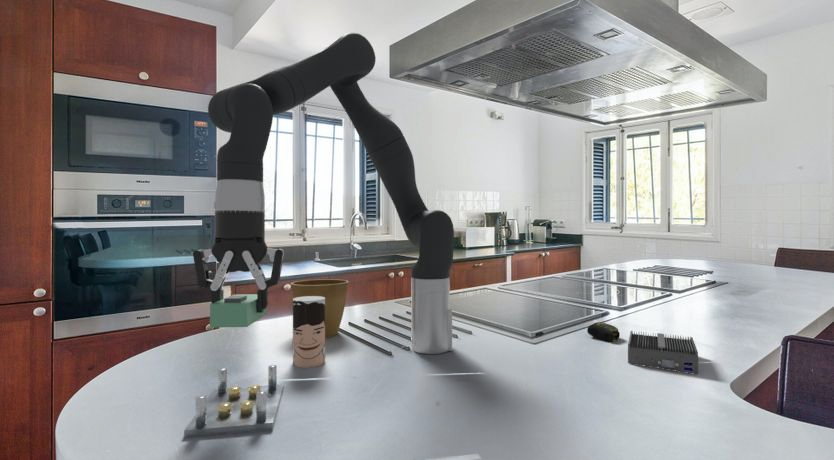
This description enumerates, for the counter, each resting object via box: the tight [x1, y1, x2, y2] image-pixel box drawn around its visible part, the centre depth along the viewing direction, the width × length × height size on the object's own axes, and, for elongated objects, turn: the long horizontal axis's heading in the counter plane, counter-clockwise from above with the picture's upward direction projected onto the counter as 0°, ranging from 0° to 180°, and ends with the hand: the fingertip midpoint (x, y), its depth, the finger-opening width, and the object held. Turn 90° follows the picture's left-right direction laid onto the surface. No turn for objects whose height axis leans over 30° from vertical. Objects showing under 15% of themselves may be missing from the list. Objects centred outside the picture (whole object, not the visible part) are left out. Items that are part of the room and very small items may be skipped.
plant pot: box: [290, 278, 350, 339], centre depth 114 cm, size 15×15×16 cm
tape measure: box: [586, 322, 620, 343], centre depth 114 cm, size 7×7×4 cm
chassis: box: [183, 364, 285, 439], centre depth 70 cm, size 16×12×5 cm
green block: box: [209, 293, 267, 329], centre depth 70 cm, size 10×6×4 cm, turn 4°
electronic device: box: [627, 330, 699, 375], centre depth 97 cm, size 13×15×5 cm
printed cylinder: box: [292, 296, 326, 368], centre depth 92 cm, size 7×7×15 cm
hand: (240, 312), depth 70 cm, fingers closed on green block, 5 cm apart
